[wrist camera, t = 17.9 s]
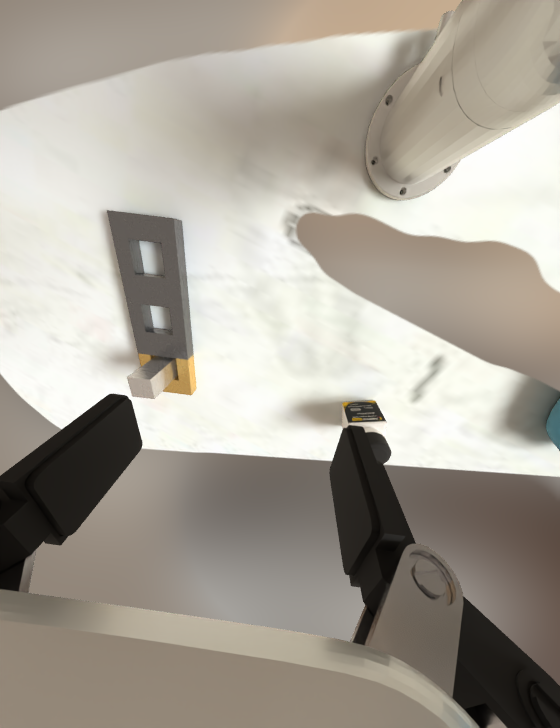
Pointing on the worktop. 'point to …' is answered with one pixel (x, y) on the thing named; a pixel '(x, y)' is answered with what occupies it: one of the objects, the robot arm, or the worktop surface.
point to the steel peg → (153, 377)
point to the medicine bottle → (368, 425)
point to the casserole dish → (554, 424)
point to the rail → (156, 292)
